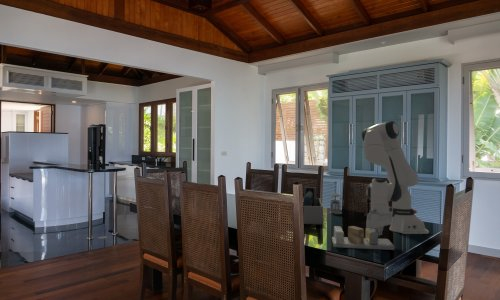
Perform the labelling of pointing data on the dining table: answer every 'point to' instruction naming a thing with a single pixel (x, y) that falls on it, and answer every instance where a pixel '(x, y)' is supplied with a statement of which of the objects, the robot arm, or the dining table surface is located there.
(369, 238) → the block
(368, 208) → the scroll
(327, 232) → the dining table surface
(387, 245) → the vise base
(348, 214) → the dining table surface
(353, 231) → the maple block
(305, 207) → the tool tote
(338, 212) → the french press
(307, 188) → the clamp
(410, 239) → the dining table surface
